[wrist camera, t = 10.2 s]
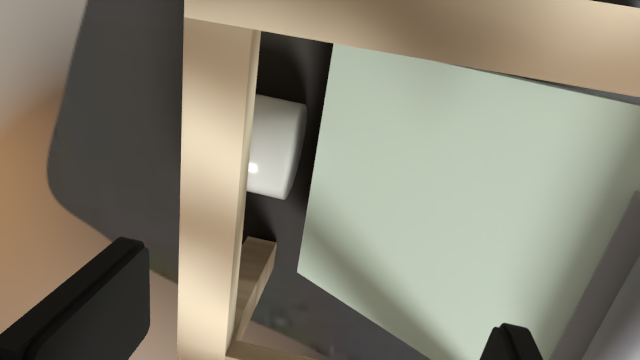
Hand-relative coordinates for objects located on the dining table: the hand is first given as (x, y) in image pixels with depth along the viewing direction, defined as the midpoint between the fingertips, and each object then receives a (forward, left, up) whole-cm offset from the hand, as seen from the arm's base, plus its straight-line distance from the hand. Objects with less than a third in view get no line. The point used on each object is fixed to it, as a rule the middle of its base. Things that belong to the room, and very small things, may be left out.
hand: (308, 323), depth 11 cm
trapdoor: (0, +5, -8) cm, 10 cm away
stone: (0, -3, -12) cm, 12 cm away
